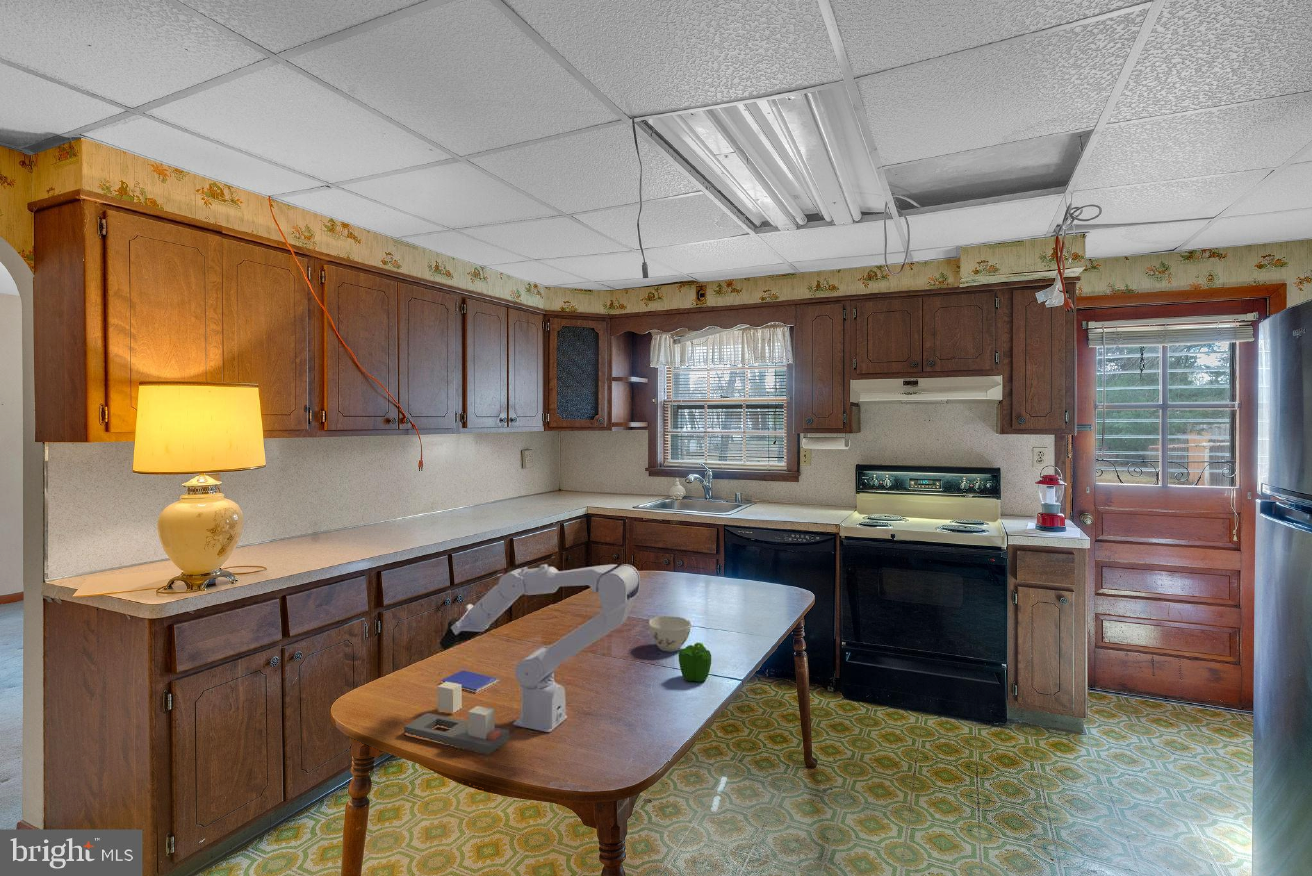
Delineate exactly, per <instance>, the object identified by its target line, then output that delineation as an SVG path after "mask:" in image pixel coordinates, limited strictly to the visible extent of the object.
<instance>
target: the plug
mask: <svg viewBox="0 0 1312 876" xmlns="http://www.w3.org/2000/svg"><path fill="white" fill-rule="evenodd" d="M462 691H463V690H462V684H457V683H451V682H445V683H443V684H441V683H440V684H439V685H437V710H438V709H439V710H445V711H447V712H453V713H454V712H456V711H457V710H459V709H460V708H463V707H462V706H463V704H462V703H463V702H462V701H463V700H462V698H463V696H462V695H463V694H462Z"/></svg>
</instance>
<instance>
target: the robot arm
mask: <svg viewBox="0 0 1312 876" xmlns="http://www.w3.org/2000/svg"><path fill="white" fill-rule="evenodd" d="M577 586H589V588H590V589H591V590H592V592H594V593H595V594H596V593H598V596H599V600H600V604H601V612H600V613H598V614H597V615H595V616H594V617H593V618H591V619H589V620H587V621H586V622H585V623H583V624H582V625H580V626H579V627H577V628H576V629H574V630H572V631H571V632H569V633H567V634H566V635H565V636H563V637H562V638H560V639H559V640H557V641H555V642H553V643H552V644H551V645H544V646H540V647H538V648H537V649H536V650H535V651H534V652H533V653H531V654H530V655H528V656H527V657H525V658H522V659H521V660H519V661H518V662H517V664H516V665H515V667H514V668H515V669H514V673H515V674H514V675H515V679H516V681H517V682H518V683H519V684H520V691H521V692H520V698H521V699H520V704H521V705H520V706H521V708H520V709H521V710H520V713H521V714H520V715H521V716H520V717H519V718H518V719H516V720H515V721H513V723H512V724H513V726H516V727H521V728H527V729H531V730H535V731H540V732H545V733H551V732H552V731H553V730H554V729H555V728H557V727H558V726H559V725H560V724H561V723H563V722H564V721H565V720H566V719H567V718H568V715H566V714H567V713H566V690H565V687H564V686H563V685H562V684H561V685H560V684H558V682H555V679H554V678H555V673H554V672H556V670H557V668H558V667H559V665H561V664H562V663H564V662H566V661H568V660H569V659H571V658H572V657H574V656H575V655H577V654H578V653H580V652H581V651H583V650H584V649H586V648H587V647H589V646H590V645H592V644H594V643H595V642H597V641H598V640H600V639H602V638H603V637H605V636H606V635H608V634H609V633H611V632H613V631H614V630H616V629H617V628H618V627H620V626H621V625H623V624H624V623H625V622H626V621H627V619H628V617H629V614H630V612H631V609H632V607H633V605H634V603H635V600H636V598H637V597H638V595H639V593H640V592H641V576H640V573H639V571H638V569H637V568H636V567H634V566H633V565H631V564H627V563H626V564H620V565H619V566H618V564H613V563H611V564H604V565H603V564H602V565H594V566H587V567H580V568H572V569H569V570H568V569H567V570H560V571H559V570H558V569H557V568H556V567H554V566H548V564H547V563H545V564H541V565H539V567H536V568H528V567H527V566H525V567H521V568H517V569H514V570H511V571H509V572H507V573H505V574H504V575H501V577H500V579H499V581H498V584H496V585H494V586H493V587H492V588H491V589H490V590H489V591H488V592H487V593H486V594H485V595H484V596H482V598H481V599H479V600H478V601H477V602H476V603H475V604H474V605H473V604H472V603H469V604H467V605H466V606H465V610H466V611H465V613H463V615H462V616H461V618H460V619H459V620H458V619H457V617H455V618H452V619H450V620H449V621H448V623H447V627H446V630H445V632H444V635H443V636H442V638H440V639H441V640H440V641H439V645H440V646H441V648H442V649H443V651H445V650H448V649H449V648H452V647H453V646H455V645H456V644H458V643H460V642H467V641H468V640H470V639H472V638H474V637H475V636H476V637H477V635H479V634H481V633H484V632H487V631H491V630H492V629H493V628H494V625H493V623H494V622H495V620H497V619H498V618H499V617H500V616H501V615H502V614H503V613H504V612H505V611H506V610H508V609H509V608H510V607H511V606H512V605H513V603H514V602H516V600H517V599H518V598H519V597H520V596H522V595H526V596H532V595H535V596H536V595H544V594H554V593H555V592H557V591H558V590H559V588H560V587H577Z"/></svg>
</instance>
